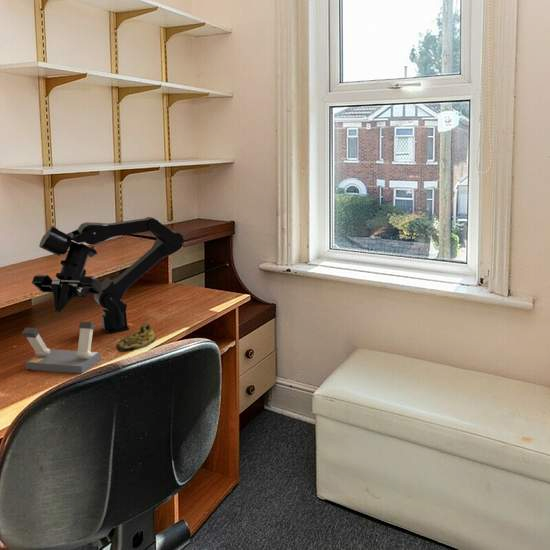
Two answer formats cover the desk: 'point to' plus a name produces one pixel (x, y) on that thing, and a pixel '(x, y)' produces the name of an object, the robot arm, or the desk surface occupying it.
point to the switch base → (63, 362)
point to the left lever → (36, 341)
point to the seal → (138, 339)
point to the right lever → (85, 340)
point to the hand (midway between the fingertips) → (57, 311)
